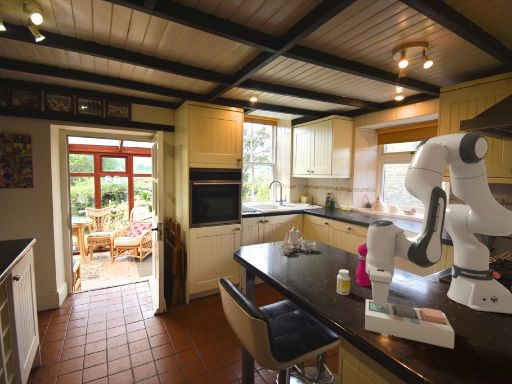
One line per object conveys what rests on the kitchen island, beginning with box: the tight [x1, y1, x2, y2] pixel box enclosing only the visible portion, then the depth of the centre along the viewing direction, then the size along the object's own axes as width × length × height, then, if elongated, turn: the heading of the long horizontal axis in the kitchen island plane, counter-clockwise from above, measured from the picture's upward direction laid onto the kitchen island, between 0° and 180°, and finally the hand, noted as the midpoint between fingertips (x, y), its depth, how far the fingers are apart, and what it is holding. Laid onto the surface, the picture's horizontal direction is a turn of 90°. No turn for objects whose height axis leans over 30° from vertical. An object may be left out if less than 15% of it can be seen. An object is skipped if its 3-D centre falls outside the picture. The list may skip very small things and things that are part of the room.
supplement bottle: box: [336, 269, 351, 296], centre depth 113 cm, size 5×5×10 cm
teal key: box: [370, 303, 387, 314], centre depth 91 cm, size 5×5×3 cm
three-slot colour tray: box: [364, 298, 456, 350], centre depth 87 cm, size 24×12×5 cm, turn 67°
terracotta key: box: [421, 307, 445, 325], centre depth 84 cm, size 5×5×3 cm
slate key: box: [394, 302, 415, 319], centre depth 87 cm, size 5×5×3 cm
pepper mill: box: [355, 241, 372, 287], centre depth 123 cm, size 7×7×20 cm
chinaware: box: [278, 226, 317, 255], centre depth 175 cm, size 28×17×17 cm, turn 119°
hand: (378, 307), depth 91 cm, fingers closed, pressing on teal key
